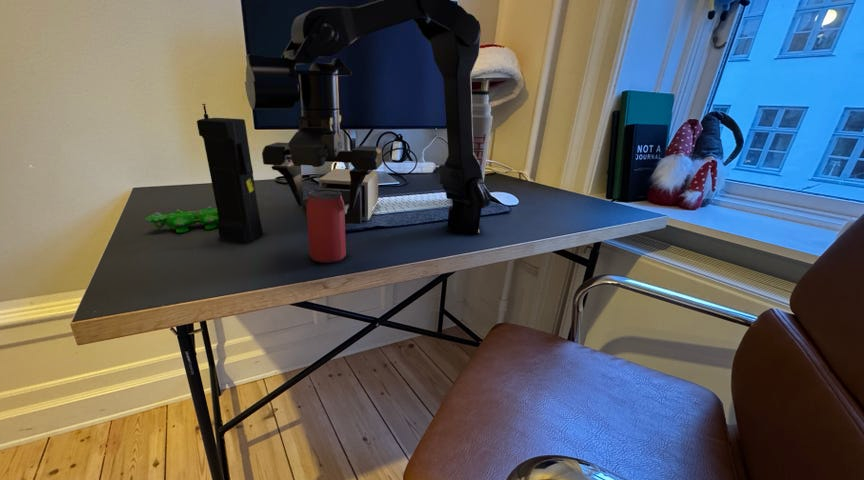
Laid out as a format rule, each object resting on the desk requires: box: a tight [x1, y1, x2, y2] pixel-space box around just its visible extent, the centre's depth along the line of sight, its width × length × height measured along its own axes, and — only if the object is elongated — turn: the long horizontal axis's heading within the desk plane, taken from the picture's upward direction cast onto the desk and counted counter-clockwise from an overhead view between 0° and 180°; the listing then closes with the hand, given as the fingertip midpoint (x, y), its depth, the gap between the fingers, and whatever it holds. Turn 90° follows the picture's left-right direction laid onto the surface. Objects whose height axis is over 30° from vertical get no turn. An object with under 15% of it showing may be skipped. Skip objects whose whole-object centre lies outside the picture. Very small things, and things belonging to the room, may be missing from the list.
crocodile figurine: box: [144, 205, 219, 234], centre depth 79 cm, size 7×18×4 cm, turn 115°
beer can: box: [305, 189, 347, 264], centre depth 65 cm, size 7×7×12 cm
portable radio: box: [196, 103, 264, 244], centre depth 70 cm, size 8×6×25 cm
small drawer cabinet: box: [318, 168, 379, 222], centre depth 91 cm, size 13×12×9 cm
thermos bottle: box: [471, 89, 494, 184], centre depth 95 cm, size 8×8×28 cm
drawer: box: [313, 183, 365, 225], centre depth 84 cm, size 16×10×7 cm, turn 170°
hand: (326, 207), depth 63 cm, fingers open, 9 cm apart
